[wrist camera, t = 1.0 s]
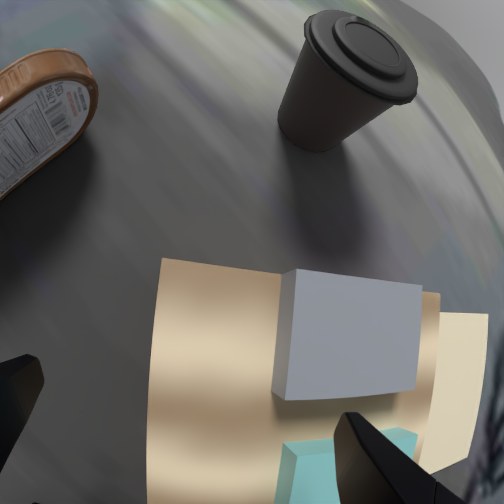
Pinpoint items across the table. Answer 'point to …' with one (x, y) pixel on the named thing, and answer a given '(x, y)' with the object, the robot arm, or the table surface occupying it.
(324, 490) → the teal block
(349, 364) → the gray rectangular block
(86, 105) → the tin
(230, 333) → the wooden block
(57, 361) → the table surface
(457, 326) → the mat
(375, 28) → the coffee cup
